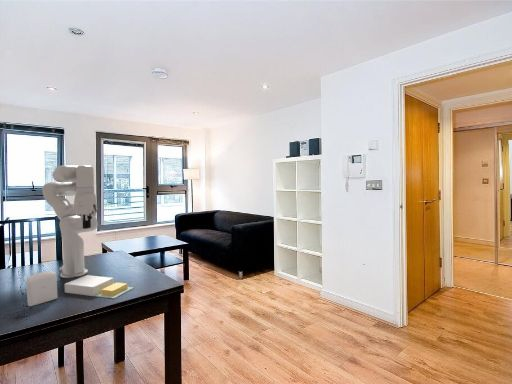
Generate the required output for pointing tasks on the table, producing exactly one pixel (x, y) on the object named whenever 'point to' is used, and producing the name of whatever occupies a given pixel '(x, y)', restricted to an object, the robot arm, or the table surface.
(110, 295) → the mat
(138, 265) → the table surface
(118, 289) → the tile
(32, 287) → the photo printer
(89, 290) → the plate
